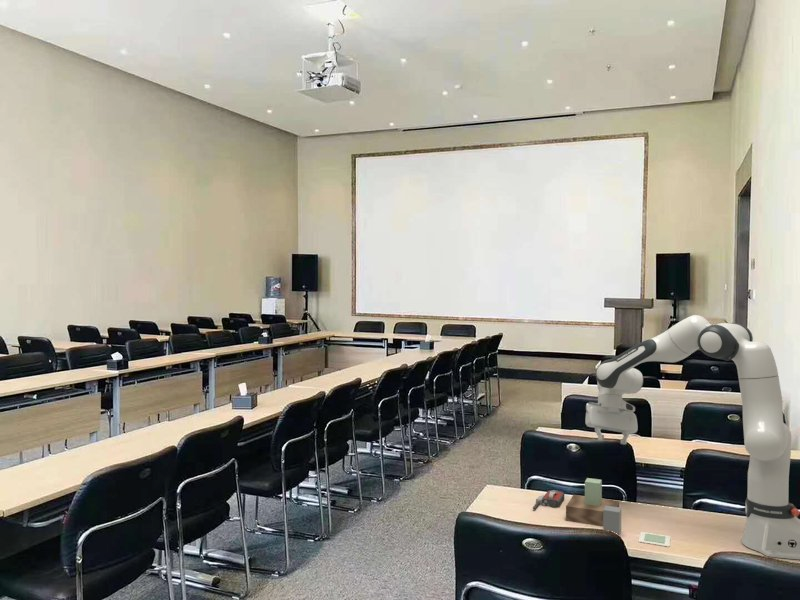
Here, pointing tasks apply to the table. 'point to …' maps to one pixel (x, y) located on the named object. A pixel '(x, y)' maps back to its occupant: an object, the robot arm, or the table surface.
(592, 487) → the sage block
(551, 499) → the walkie-talkie
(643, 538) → the swatch
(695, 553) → the table surface
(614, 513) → the grey block
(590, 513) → the walnut plinth
